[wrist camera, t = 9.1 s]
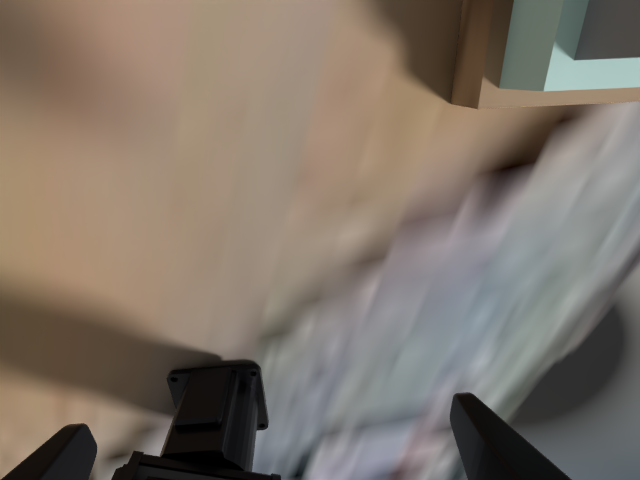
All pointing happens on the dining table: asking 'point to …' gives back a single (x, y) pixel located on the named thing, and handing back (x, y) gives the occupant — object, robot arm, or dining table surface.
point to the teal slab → (557, 51)
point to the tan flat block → (487, 61)
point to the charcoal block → (610, 30)
